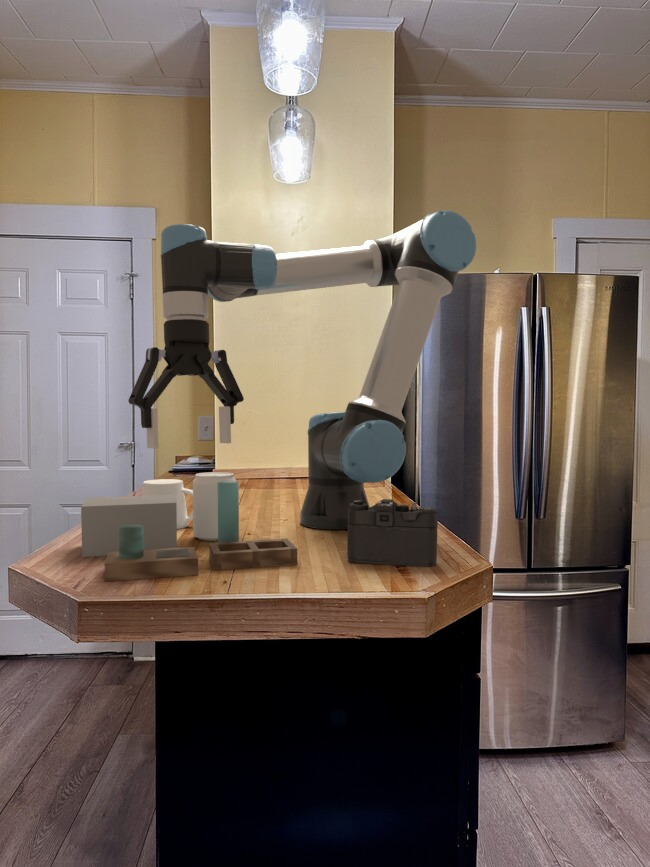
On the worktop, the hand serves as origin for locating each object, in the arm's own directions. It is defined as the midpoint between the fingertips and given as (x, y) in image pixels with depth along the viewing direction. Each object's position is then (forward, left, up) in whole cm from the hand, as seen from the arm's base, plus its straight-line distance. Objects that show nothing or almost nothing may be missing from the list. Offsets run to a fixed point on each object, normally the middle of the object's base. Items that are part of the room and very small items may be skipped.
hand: (190, 445), depth 107 cm
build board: (-9, +10, -18) cm, 23 cm away
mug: (+3, -23, -18) cm, 29 cm away
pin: (-6, +3, -18) cm, 19 cm away
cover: (+10, -5, -18) cm, 21 cm away
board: (+7, +12, -18) cm, 23 cm away
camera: (-32, +14, -18) cm, 39 cm away
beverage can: (-5, -10, -18) cm, 21 cm away
